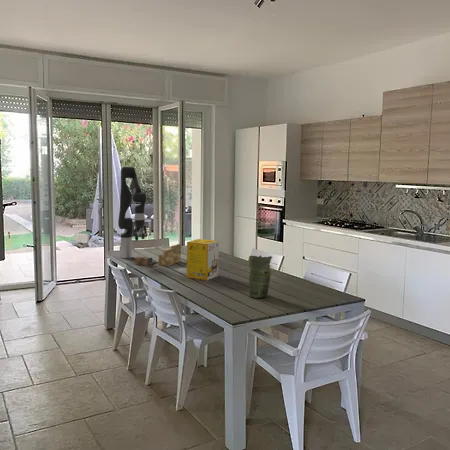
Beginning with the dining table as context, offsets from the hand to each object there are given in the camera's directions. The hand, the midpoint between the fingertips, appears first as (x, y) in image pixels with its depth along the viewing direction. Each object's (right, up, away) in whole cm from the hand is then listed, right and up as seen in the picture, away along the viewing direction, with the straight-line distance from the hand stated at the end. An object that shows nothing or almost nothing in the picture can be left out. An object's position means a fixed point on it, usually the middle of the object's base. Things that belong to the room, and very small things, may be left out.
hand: (139, 239), depth 356 cm
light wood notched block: (+22, -19, +9) cm, 30 cm away
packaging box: (+50, -25, -34) cm, 65 cm away
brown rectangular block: (+2, -19, +1) cm, 20 cm away
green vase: (+86, -32, -80) cm, 122 cm away
